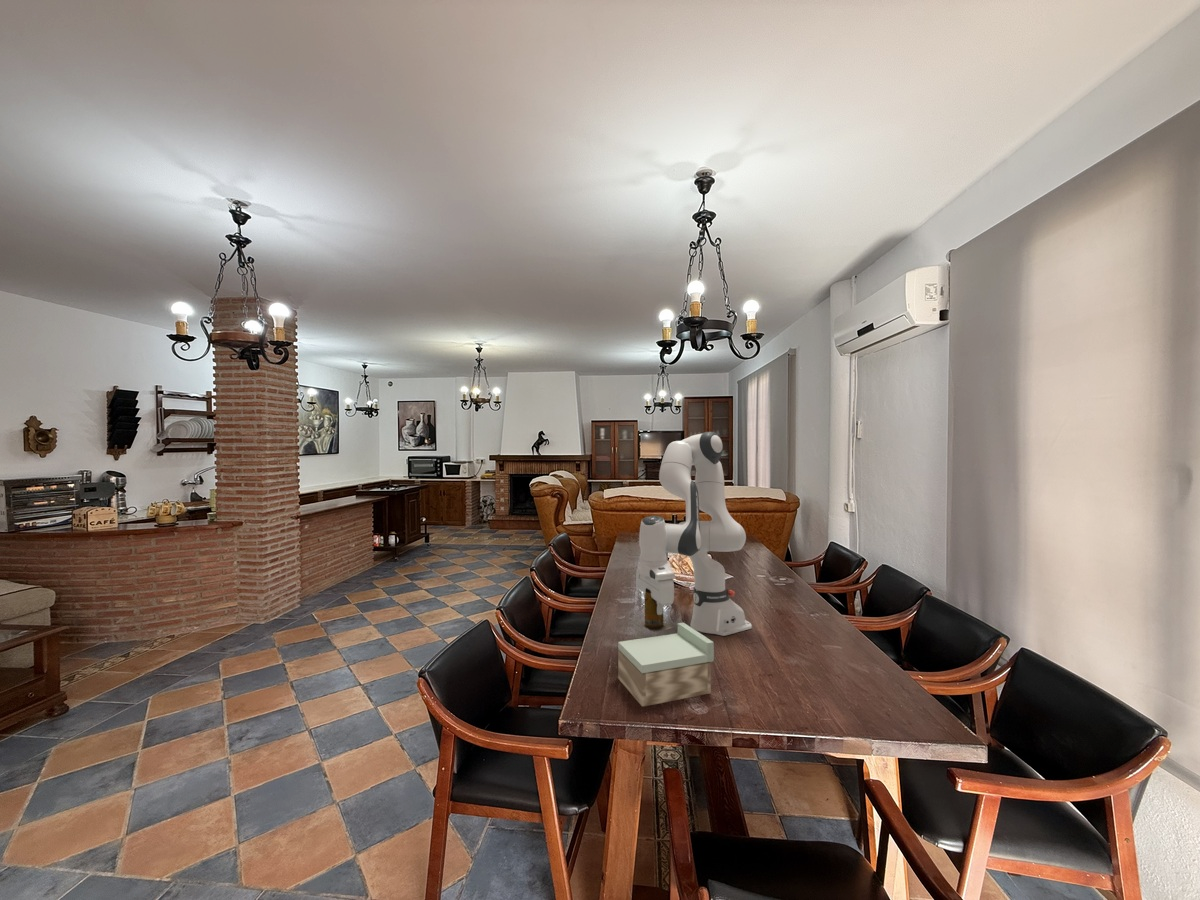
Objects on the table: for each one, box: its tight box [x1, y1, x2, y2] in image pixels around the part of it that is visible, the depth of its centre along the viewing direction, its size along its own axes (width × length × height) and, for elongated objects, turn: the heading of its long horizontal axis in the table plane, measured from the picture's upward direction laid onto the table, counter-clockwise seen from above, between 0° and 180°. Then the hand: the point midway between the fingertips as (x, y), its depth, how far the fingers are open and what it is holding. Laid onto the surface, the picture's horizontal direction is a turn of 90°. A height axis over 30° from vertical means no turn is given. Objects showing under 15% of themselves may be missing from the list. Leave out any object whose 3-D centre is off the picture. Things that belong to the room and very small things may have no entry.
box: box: [617, 649, 712, 707], centre depth 128 cm, size 20×16×8 cm
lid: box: [617, 622, 715, 673], centre depth 128 cm, size 21×16×5 cm
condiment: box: [638, 588, 673, 633], centre depth 150 cm, size 7×8×12 cm
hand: (653, 609), depth 151 cm, fingers closed on condiment, 6 cm apart
